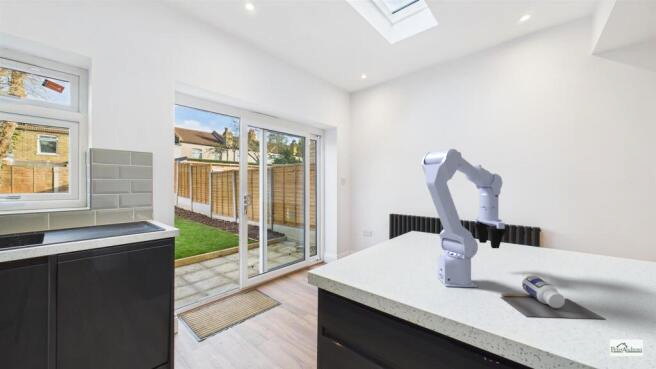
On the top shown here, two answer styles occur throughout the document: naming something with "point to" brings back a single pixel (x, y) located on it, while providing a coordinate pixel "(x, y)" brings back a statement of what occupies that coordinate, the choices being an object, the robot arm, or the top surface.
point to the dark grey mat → (547, 308)
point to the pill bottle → (543, 291)
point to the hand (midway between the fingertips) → (488, 245)
